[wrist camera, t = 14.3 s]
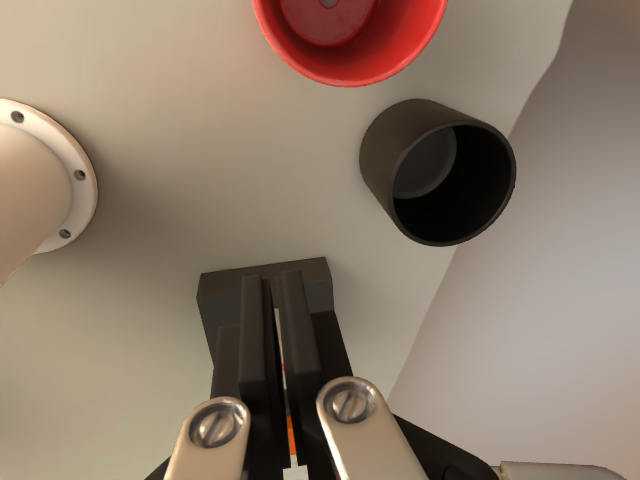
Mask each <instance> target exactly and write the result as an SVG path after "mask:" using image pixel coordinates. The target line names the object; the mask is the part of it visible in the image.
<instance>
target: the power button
mask: <svg viewBox="0 0 640 480" xmlns="http://www.w3.org/2000/svg"><path fill="white" fill-rule="evenodd" d="M287 426H288V438H289V449H290V455H294V454H296V449H295V442H294V436H293V429H292V422H291V415H287Z"/></svg>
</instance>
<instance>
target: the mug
mask: <svg viewBox="0 0 640 480" xmlns="http://www.w3.org/2000/svg"><path fill="white" fill-rule="evenodd" d="M359 164H360V170H361V174H362V177H363V179H364V181H365V183H366V185H367V186H368V188H369V189H370V190H371V192H372V193H373V195H374V196H375V197H376V199H377V200H378V201H379V203H380V204H381V206H382V207H383V208H384V210H385V211H386V212H387V214H388V215H389V216H390V218H391V219H392V221H393V222H394V223H395V225H396V226H397V227H398V229H399V230H400V231H401V232H402V233H403V234H404V235H405V236H407V237H408V238H410V239H411V240H413V241H415V242H418V243H420V244H423V245H428V246H435V247H444V246H452V245H456V244H460V243H462V242H465V241H468V240H470V239H472V238H474V237H476V236H477V235H479V234H480V233H482V232H483V231H485V230H486V229H487V228H488V227H489V226H490V225H491V224H493V223H494V222H495V220H496V219H497V218H498V217H499V216H500V215H501V213H502V212H503V210H504V209H505V207H506V206H507V204H508V202H509V200H510V198H511V195H512V192H513V189H514V188H515V180H516V161H515V157H514V153H513V150H512V148H511V146H510V144H509V142H508V140H507V139H506V138H505V137H504V135H503V134H502V133H501V132H500V131H498V130H497V129H496V128H495V127H493V126H491V125H489V124H487V123H485V122H483V121H480V120H478V119H475V118H473V117H470V116H468V115H465V114H463V113H461V112H458V111H456V110H453V109H451V108H448V107H446V106H443V105H441V104H439V103H436V102H433V101H430V100H425V99H411V100H407V101H403V102H400V103H397V104H395V105H393V106H391V107H390V108H388V109H387V110H385V111H384V112H383V113H381V114H380V115H379V116H378V117H377V118H376V119H375V120H374V122H373V123H372V124H371V126H370V127H369V128H368V130H367V132H366V134H365V136H364V138H363V141H362V144H361V149H360V156H359Z"/></svg>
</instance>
